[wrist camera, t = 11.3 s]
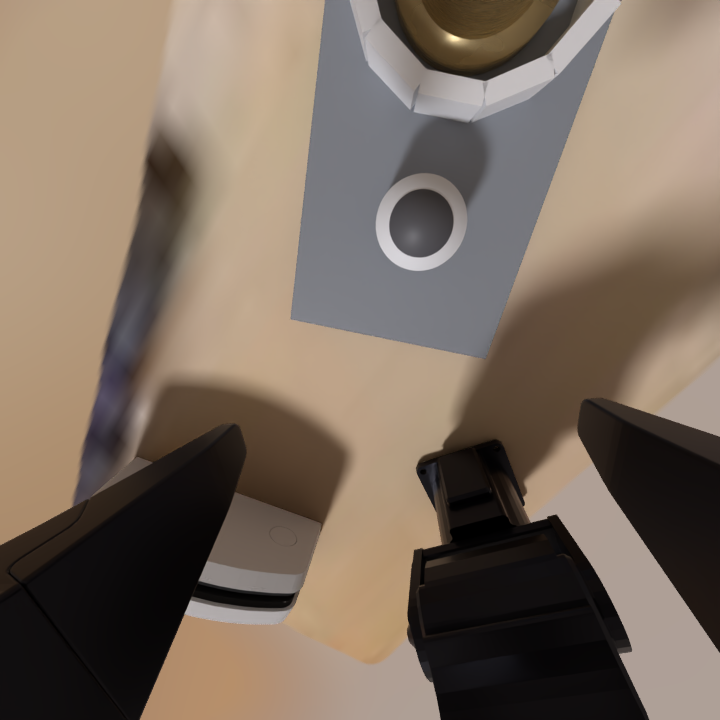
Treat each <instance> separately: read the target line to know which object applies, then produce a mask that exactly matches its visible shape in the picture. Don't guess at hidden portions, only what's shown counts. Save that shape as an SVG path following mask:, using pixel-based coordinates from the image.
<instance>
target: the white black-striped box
mask: <svg viewBox="0 0 720 720" xmlns="http://www.w3.org/2000/svg"><path fill="white" fill-rule="evenodd" d="M152 463H153V462H150V461H147V460H145V459H142V458H139V457H136V458H135V459H134V460H132V461H131V462H130V463H129V464H128V465H127V466H126V467H124V468H123V469H122V470H121V471H120V472H119V473H118V474H116V475H115V476H114V477H113V478H112V479H111V480H110V481H108V482H107V483H106V484H105V485H104V486H103V487H102V488H100V489H99V490H98V491H97V492H96V493H95V494H94V495H96V494H97V493H99V492H101V491H103V490H105V489H106V488H108V487H110V486H112V485H114V484H115V483H117V482H119V481H121V480H123V479H124V478H126V477H128V476H130V475H132V474H134V473H135V472H137V471H139V470H141V469H143V468H144V467H146V466H148V465H150V464H152ZM94 495H92V496H94ZM321 524H322V523H319V522H317V521H314V520H311V519H308V518H305V517H303V516H300V515H297V514H294V513H292V512H289V511H286V510H283V509H281V508H278V507H275V506H272V505H269V504H267V503H264V502H261V501H258V500H256V499H253V498H250V497H247V496H244V495H242V494H239V493H236V492H235V494H234V497H233V500H232V503H231V506H230V508H229V511H228V513H227V516H226V518H225V520H224V523H223V525H222V527H221V530H220V532H219V534H218V537H217V539H216V541H215V544H214V546H213V549H212V551H211V553H210V556H209V558H208V560H207V563H206V565H205V567H204V570H203V572H202V574H201V577H200V579H199V581H198V584H197V586H196V588H195V591H194V593H193V595H192V598H191V600H190V603H189V605H188V607H187V610H186V612H185V615H189V616H193V617H198V618H203V619H209V620H214V621H222V622H229V623H240V624H277V623H281V622H282V621H284V619H285V618H286V617H287V615H288V614H289V612H290V611H291V609H292V608H293V606H294V605H295V603H296V600H297V597H298V594H299V591H300V589H301V588H302V587H303V584H304V581H305V578H306V575H307V572H308V569H309V566H310V563H311V560H312V556H313V553H314V550H315V547H316V544H317V541H318V538H319V535H320V530H321Z"/></svg>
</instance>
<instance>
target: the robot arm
mask: <svg viewBox="0 0 720 720" xmlns="http://www.w3.org/2000/svg"><path fill="white" fill-rule="evenodd" d="M577 429H578V435H579V437H580V439H581V441H582V443H583V445H584V447H585V448H586V450H587V452H588V454H589V456H590V458H591V460H592V461H593V463H594V465H595V467H596V469H597V471H598V472H599V474H600V476H601V478H602V480H603V482H604V483H605V485H606V487H607V488H608V490H609V492H610V493H611V495H612V496H613V498H614V499H615V501H616V502H617V504H618V505H619V507H620V508H621V510H622V511H623V513H624V514H625V515H626V517H627V518H628V520H629V521H630V523H631V524H632V526H633V527H634V529H635V530H636V531H637V533H638V534H639V536H640V537H641V539H642V540H643V542H644V543H645V545H646V546H647V548H648V549H649V550H650V552H651V553H652V555H653V556H654V558H655V559H656V561H657V562H658V564H659V565H660V566H661V568H662V569H663V571H664V572H665V574H666V575H667V576H668V578H669V579H670V581H671V582H672V584H673V585H674V587H675V588H676V590H677V591H678V593H679V594H680V595H681V597H682V598H683V600H684V601H685V603H686V604H687V606H688V607H689V609H690V610H691V612H692V613H693V614H694V616H695V617H696V619H697V620H698V622H699V623H700V625H701V626H702V627H703V629H704V631H705V632H706V633H707V635H708V636H709V638H710V639H711V641H712V642H713V644H714V645H715V647H716V648H717V649H718V651H719V652H720V437H718V436H716V435H713V434H710V433H707V432H704V431H701V430H698V429H695V428H692V427H689V426H686V425H682V424H680V423H676V422H673V421H671V420H668V419H665V418H661V417H658V416H656V415H653V414H650V413H646V412H643V411H640V410H637V409H634V408H631V407H628V406H625V405H622V404H619V403H616V402H613V401H610V400H607V399H604V398H591V399H585V400H583V401H582V403H581V406H580V413H579V420H578V427H577ZM495 446H498V448H496V449H494V447H495ZM245 458H246V446H245V442H244V439H243V436H242V433H241V430H240V427H239V426H238V425H237V424H235V423H233V424H222V425H220V426H218V427H217V428H215V429H213V430H211V431H209V432H208V433H206V434H204V435H202V436H200V437H198V438H197V439H195V440H193V441H191V442H189V443H188V444H186V445H184V446H182V447H180V448H179V449H177V450H175V451H173V452H171V453H170V454H168V455H166V456H164V457H162V458H161V459H159V460H157V461H155V462H153V463H152V464H150V465H148V466H146V467H144V468H143V469H141V470H139V471H137V472H135V473H134V474H132V475H130V476H128V477H126V478H124V479H123V480H121V481H119V482H117V483H115V484H114V485H112V486H110V487H108V488H106V489H105V490H103V491H101V492H99V493H97V494H96V495H94V496H92V497H91V498H90V500H89V499H87V500H85V501H83V502H81V503H79V504H77V505H76V506H74V507H72V508H70V509H68V510H67V511H65V512H63V513H61V514H59V515H57V516H55V517H54V518H52V519H50V520H48V521H46V522H45V523H43V524H41V525H39V526H37V527H35V528H33V529H31V530H29V531H27V532H25V533H23V534H21V535H19V536H17V537H16V538H14V539H12V540H10V541H8V542H6V543H4V544H2V545H0V720H140V717H141V715H142V713H143V710H144V708H145V706H146V703H147V701H148V699H149V696H150V694H151V692H152V689H153V687H154V684H155V682H156V680H157V678H158V675H159V673H160V670H161V668H162V666H163V664H164V661H165V659H166V656H167V654H168V652H169V649H170V647H171V645H172V642H173V640H174V638H175V635H176V633H177V631H178V628H179V626H180V624H181V621H182V619H183V616H184V614H185V612H186V610H187V607H188V605H189V603H190V600H191V598H192V595H193V593H194V591H195V588H196V586H197V584H198V581H199V579H200V577H201V574H202V572H203V570H204V567H205V565H206V563H207V560H208V558H209V556H210V553H211V551H212V549H213V546H214V544H215V541H216V539H217V537H218V534H219V532H220V530H221V527H222V525H223V523H224V520H225V518H226V516H227V513H228V511H229V508H230V506H231V503H232V500H233V497H234V494H235V490H236V487H237V484H238V481H239V477H240V474H241V471H242V468H243V464H244V461H245ZM422 469H425V470H424V471H421V470H422ZM416 471H417V475H418V477H419V479H420V481H421V483H422V485H423V487H424V489H425V491H426V493H427V495H428V497H429V499H430V501H431V503H432V504H433V506H434V508H435V510H436V512H437V518H438V524H439V530H440V536H441V542H442V545H440V546H436V547H432V548H428V549H424V550H423V548H421V549H417V550H414V556H413V562H412V569H411V580H410V591H409V602H408V622H409V625H408V628H407V635H408V639H409V642H410V643H411V644H412V645H413V646H414V647H415V649H416V652H417V655H418V659H419V662H420V665H421V667H422V670H423V672H424V674H425V676H426V678H427V679H428V680H429V681H430V682H433V684H434V688H435V692H436V696H437V701H438V706H439V712H440V718H441V720H649V718H648V715H647V713H646V711H645V708H644V706H643V704H642V702H641V700H640V698H639V696H638V694H637V692H636V690H635V687H634V686H633V683H632V681H631V679H630V677H629V675H628V673H627V670H626V668H625V666H624V664H623V662H622V660H621V658H620V656H619V654H621V653H628V652H632V648H631V645H630V642H629V638H628V636H627V634H626V631H625V629H624V626H623V624H622V622H621V620H620V618H619V615H618V614H617V611H616V609H615V607H614V605H613V603H612V601H611V599H610V597H609V595H608V594H607V591H606V590H605V588H604V586H603V584H602V582H601V581H600V579H599V577H598V575H597V574H596V572H595V570H594V569H593V567H592V566H591V564H590V562H589V561H588V559H587V558H586V556H585V555H584V554H583V552H582V551H581V549H580V548H579V546H578V545H577V543H576V542H575V541H574V539H573V538H572V536H571V535H570V533H569V532H568V530H567V529H566V527H565V526H564V525H563V523H562V522H561V520H560V519H559V517H558V516H557V515H552V516H548V517H547V519H544V520H540V521H536V522H532V523H531V522H530V520H529V518H528V516H527V514H526V512H525V510H524V508H523V506H524V505H525V502H524V499H523V497H522V494H521V492H520V489H519V486H518V484H517V481H516V478H515V476H514V473H513V470H512V468H511V465H510V462H509V460H508V457H507V454H506V452H505V449H504V447H503V445H502V443H501V442H500V441H499V440H493V441H489V442H486V443H483V444H480V445H477V446H474V447H470V448H467V449H464V450H461V451H458V452H455V453H451V454H448V455H445V456H442V457H439V458H436V459H432V460H429V461H426V462H423V463H420V464H418V465H417V467H416Z"/></svg>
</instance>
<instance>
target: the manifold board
mask: <svg viewBox="0 0 720 720" xmlns="http://www.w3.org/2000/svg"><path fill="white" fill-rule="evenodd" d="M621 1H622V0H559V1H558V3H557V5H556V6H555V8H554V10H553V11H552V13H551V14H550V16H549V17H548V18H547V20H546V21H545V22H544V23H543V25H542V26H541V27H540V29H539V30H538V31H537V33H536V34H535V35H534V37H533V38H532V39H531V40H530V42H529V43H528V44H527V45H526V46H525V47H524V48H523V49H522V50H521V51H520V52H519V53H518V54H517V55H515V56H514V57H513V58H512V59H510V60H509V61H507V62H506V63H504V64H503V65H501V66H499V67H497V68H495V69H493V70H491V71H488V72H485V73H483V74H478V75H473V76H457V75H452V74H447V73H444V72H441V71H439V70H437V69H435V68H433V67H431V66H430V65H429V64H427V63H426V62H425V61H423V59H422V58H421V57H420V56H419V55H418V54H417V53H416V52H415V51H414V49H413V48H412V47H411V45H410V44H409V42H408V40H407V38H406V37H405V35H404V33H403V30H402V28H401V25H400V23H399V19H398V15H397V12H396V6H395V0H325V7H324V16H323V25H322V34H321V44H320V53H319V62H318V71H317V80H316V90H315V99H314V108H313V117H312V126H311V136H310V145H309V154H308V163H307V172H306V182H305V191H304V200H303V209H302V218H301V228H300V237H299V246H298V255H297V264H296V274H295V283H294V292H293V301H292V310H291V319H292V320H297V321H301V322H306V323H311V324H316V325H321V326H326V327H331V328H336V329H341V330H346V331H351V332H355V333H360V334H365V335H370V336H375V337H380V338H385V339H390V340H395V341H400V342H404V343H409V344H414V345H419V346H424V347H429V348H434V349H439V350H444V351H449V352H454V353H458V354H463V355H468V356H473V357H478V358H483V359H486V357H487V354H488V351H489V348H490V346H491V343H492V340H493V338H494V335H495V332H496V330H497V327H498V324H499V321H500V319H501V316H502V313H503V311H504V308H505V305H506V303H507V300H508V297H509V294H510V292H511V289H512V286H513V284H514V281H515V278H516V276H517V273H518V270H519V267H520V265H521V262H522V259H523V257H524V254H525V251H526V249H527V246H528V243H529V240H530V238H531V235H532V232H533V230H534V227H535V224H536V222H537V219H538V216H539V213H540V211H541V208H542V205H543V203H544V200H545V197H546V195H547V192H548V189H549V186H550V184H551V181H552V178H553V176H554V173H555V170H556V168H557V165H558V162H559V159H560V157H561V154H562V151H563V149H564V146H565V143H566V141H567V138H568V135H569V132H570V130H571V127H572V124H573V122H574V119H575V116H576V114H577V111H578V108H579V105H580V103H581V100H582V97H583V95H584V92H585V89H586V87H587V84H588V81H589V78H590V76H591V73H592V70H593V68H594V65H595V62H596V60H597V57H598V54H599V51H600V49H601V46H602V43H603V41H604V38H605V35H606V33H607V30H608V27H609V24H610V22H611V19H612V16H613V14H614V11H615V10H616V9H617V8H618V7H619V6H620V4H621Z"/></svg>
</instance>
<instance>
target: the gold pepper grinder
mask: <svg viewBox="0 0 720 720" xmlns="http://www.w3.org/2000/svg"><path fill="white" fill-rule="evenodd" d="M558 1H559V0H395V6H396V12H397V15H398V19H399V23H400V25H401V28H402V30H403V33H404V35H405V37H406V38H407V40H408V42H409V44H410V45H411V47H412V48H413V49H414V51H415V52H416V53H417V54H418V55H419V56H420V57H421V58H422V59H423V61H425V62H426V63H427V64H429V65H430V66H431V67H433V68H435V69H437V70H439V71H441V72H444V73H447V74H452V75H457V76H473V75H478V74H483V73H485V72H488V71H491V70H493V69H495V68H497V67H499V66H501V65H503V64H504V63H506V62H507V61H509V60H510V59H512V58H513V57H514V56H515V55H517V54H518V53H519V52H520V51H521V50H522V49H523V48H524V47H525V46H526V45H527V44H528V43H529V42H530V40H531V39H532V38H533V37H534V35H535V34H536V33H537V31H538V30H539V29H540V27H541V26H542V25H543V23H544V22H545V21H546V20H547V18H548V17H549V16H550V14H551V13H552V11H553V10H554V8H555V6H556V5H557V3H558Z"/></svg>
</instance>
